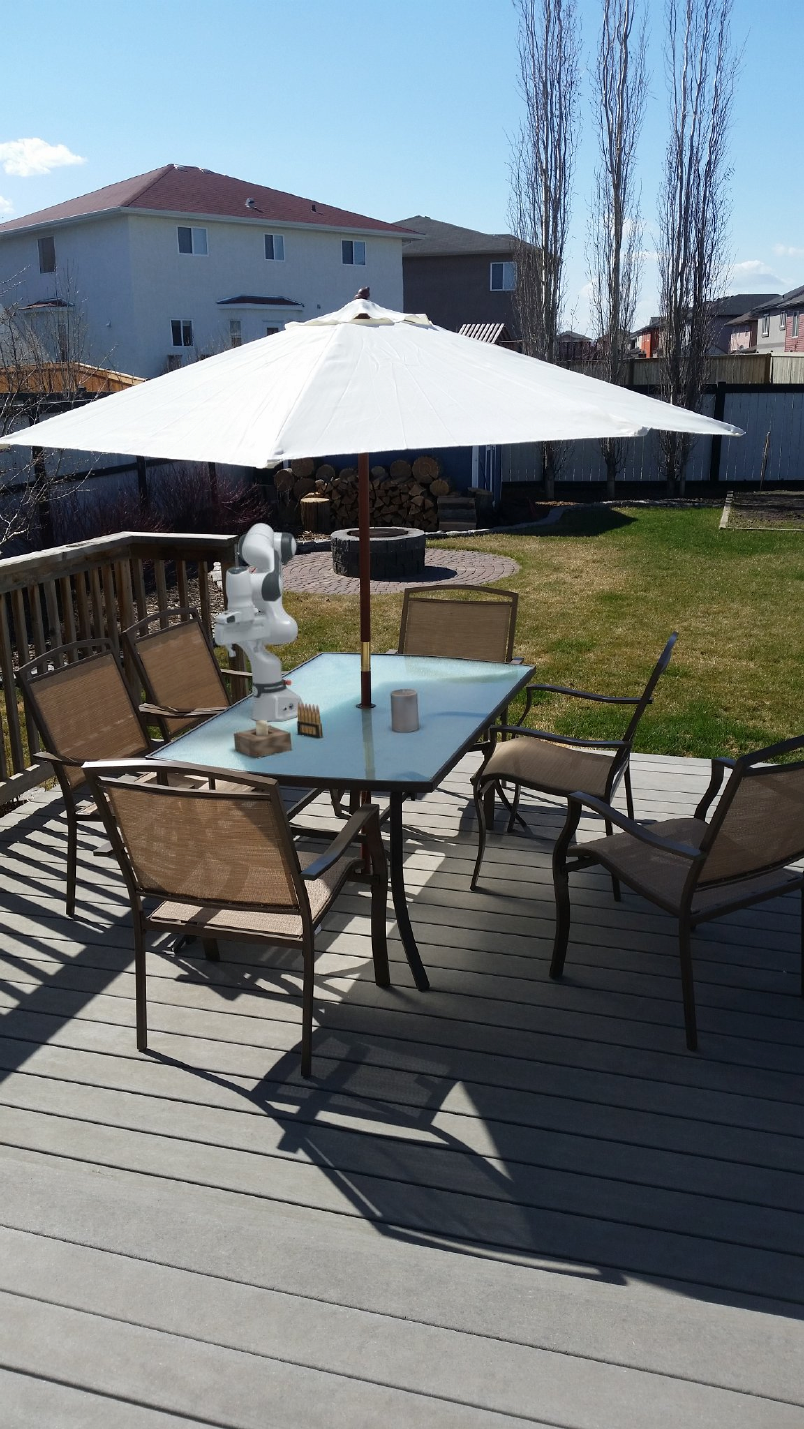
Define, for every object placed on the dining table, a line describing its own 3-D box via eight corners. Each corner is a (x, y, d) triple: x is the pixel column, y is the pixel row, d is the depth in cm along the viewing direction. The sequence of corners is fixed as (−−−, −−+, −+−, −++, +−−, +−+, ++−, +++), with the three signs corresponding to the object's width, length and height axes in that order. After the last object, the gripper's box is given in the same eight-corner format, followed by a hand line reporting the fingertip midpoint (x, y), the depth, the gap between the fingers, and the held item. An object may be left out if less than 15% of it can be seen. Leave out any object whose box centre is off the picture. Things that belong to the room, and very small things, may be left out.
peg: (265, 747, 367) (263, 719, 365) (271, 750, 364) (269, 721, 361) (255, 750, 365) (253, 721, 362) (261, 752, 362) (259, 724, 359)
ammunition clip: (297, 734, 382) (295, 702, 378) (300, 733, 383) (298, 701, 380) (319, 738, 375) (317, 705, 372) (323, 737, 376) (320, 704, 373)
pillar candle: (395, 725, 388) (393, 685, 384) (421, 725, 386) (419, 685, 382) (389, 733, 379) (387, 692, 375) (416, 733, 377) (414, 692, 373)
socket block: (270, 741, 374) (269, 725, 372) (291, 749, 363) (290, 732, 362) (235, 750, 366) (233, 733, 364) (255, 758, 355) (254, 741, 353)
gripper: (263, 609, 373) (266, 648, 377) (210, 617, 361) (214, 657, 365) (272, 611, 368) (275, 650, 372) (219, 619, 356) (223, 660, 360)
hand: (244, 654), depth 368 cm, fingers open, 8 cm apart
